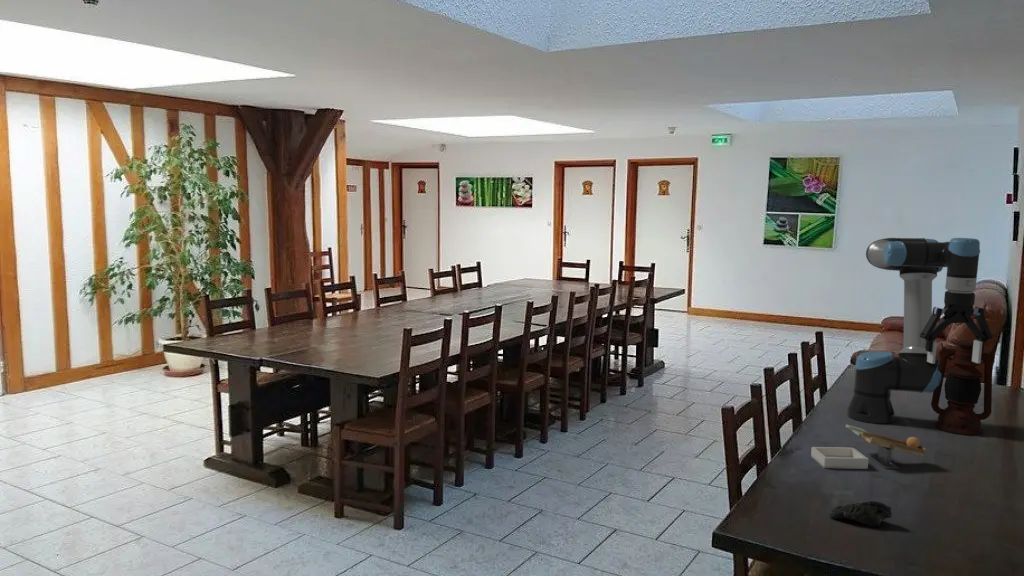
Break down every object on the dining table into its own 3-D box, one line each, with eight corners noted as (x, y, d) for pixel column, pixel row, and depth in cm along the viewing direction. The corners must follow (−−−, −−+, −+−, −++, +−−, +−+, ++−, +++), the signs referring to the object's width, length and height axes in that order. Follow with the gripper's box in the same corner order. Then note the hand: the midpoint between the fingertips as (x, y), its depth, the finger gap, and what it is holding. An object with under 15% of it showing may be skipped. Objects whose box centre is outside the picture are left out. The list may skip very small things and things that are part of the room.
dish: (811, 456, 215) (811, 446, 215) (852, 457, 215) (853, 447, 214) (824, 468, 206) (824, 458, 205) (867, 468, 205) (868, 458, 205)
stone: (827, 512, 177) (828, 491, 176) (887, 519, 173) (888, 497, 172) (830, 523, 171) (831, 502, 170) (893, 531, 166) (894, 509, 166)
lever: (845, 426, 221) (847, 419, 221) (896, 439, 221) (899, 432, 221) (869, 444, 206) (872, 435, 205) (925, 458, 206) (928, 449, 205)
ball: (902, 445, 211) (905, 434, 211) (914, 447, 211) (917, 436, 211) (908, 449, 208) (912, 437, 207) (920, 451, 208) (924, 440, 207)
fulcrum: (869, 457, 215) (871, 441, 214) (883, 458, 214) (884, 441, 214) (884, 468, 206) (886, 452, 205) (899, 469, 206) (900, 452, 205)
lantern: (929, 430, 241) (938, 342, 237) (928, 418, 253) (936, 335, 249) (991, 439, 233) (1001, 349, 229) (987, 426, 245) (996, 340, 241)
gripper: (925, 293, 205) (919, 365, 208) (1011, 293, 206) (1003, 365, 209) (910, 289, 212) (904, 359, 216) (993, 289, 213) (986, 359, 216)
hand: (953, 362), depth 212 cm, fingers open, 13 cm apart
